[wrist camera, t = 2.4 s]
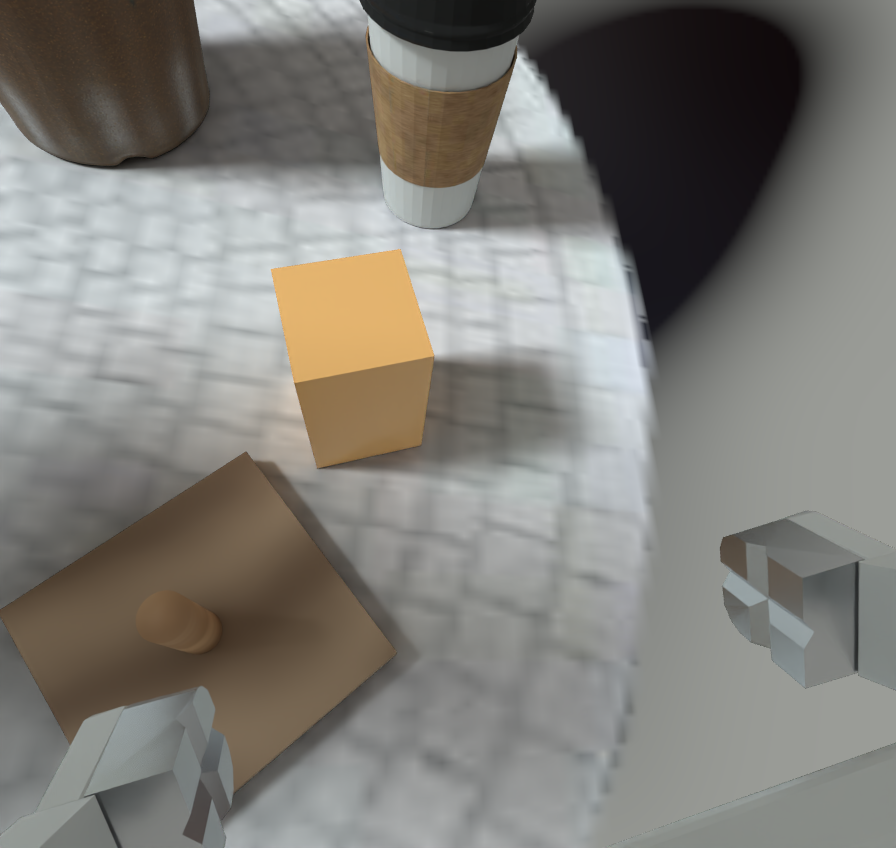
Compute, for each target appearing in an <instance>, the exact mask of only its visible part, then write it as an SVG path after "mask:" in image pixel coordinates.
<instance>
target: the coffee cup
mask: <svg viewBox="0 0 896 848" xmlns="http://www.w3.org/2000/svg"><path fill="white" fill-rule="evenodd" d="M360 2H361V5H362V7H363V9H364V10H365V11H366V13H367V14H368V24H369V25H368V27H367V32H366V44H367V53H368V61H369V70H370V78H371V87H372V96H373V104H374V113H375V121H376V130H377V138H378V147H379V153H380V162H381V173H382V184H383V193H384V199H385V201H386V204H387V206H388V207H389V209H390V210H391V211H392V212H393V213H394V214H395V215H396V216H397V217H398V218H400V219H401V220H403V221H404V222H406V223H409V224H411V225H414V226H417V227H421V228H442V227H447V226H450V225H452V224H455V223H456V222H458V221H460V220H461V219H462V218H463V217H464V216H465V215H467V213H468V212H469V210H470V209H471V206H472V203H473V200H474V196H475V193H476V189H477V186H478V182H479V178H480V175H481V171H482V167H483V165H484V162H485V159H486V156H487V153H488V150H489V146H490V143H491V140H492V137H493V133H494V130H495V127H496V124H497V120H498V117H499V114H500V111H501V107H502V104H503V101H504V98H505V94H506V91H507V88H508V85H509V82H510V78H511V75H512V72H513V69H514V65H515V62H516V59H517V45H516V44H517V41H518V37H519V34H521V33H522V32H523V31H524V30H525V29H526V27H527V26H528V25H529V23H530V22H531V19H532V16H533V13H534V6H535V3H536V0H360Z"/></svg>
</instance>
